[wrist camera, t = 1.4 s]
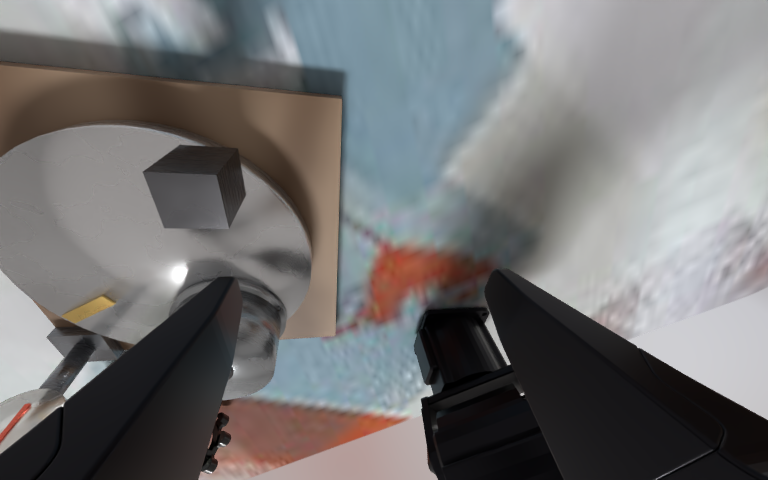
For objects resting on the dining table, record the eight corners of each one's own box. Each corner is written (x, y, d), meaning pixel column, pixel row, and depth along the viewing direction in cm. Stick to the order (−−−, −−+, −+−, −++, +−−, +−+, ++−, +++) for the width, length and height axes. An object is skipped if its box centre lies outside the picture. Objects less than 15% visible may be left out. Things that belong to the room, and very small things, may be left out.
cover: (282, 276, 18) (272, 330, 15) (290, 343, 22) (284, 397, 19) (156, 279, 16) (114, 339, 13) (189, 350, 20) (163, 410, 17)
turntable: (308, 133, 15) (301, 165, 11) (314, 327, 23) (312, 381, 20) (-91, 103, 11) (-289, 135, 8) (91, 341, 20) (38, 408, 17)
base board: (341, 95, 15) (342, 99, 14) (335, 326, 26) (335, 337, 25) (-144, 46, 11) (-189, 47, 10) (86, 341, 22) (75, 355, 21)
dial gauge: (115, 324, 20) (16, 458, 14) (131, 349, 22) (50, 479, 15) (46, 327, 19) (-93, 472, 13) (69, 353, 21) (-45, 493, 15)
